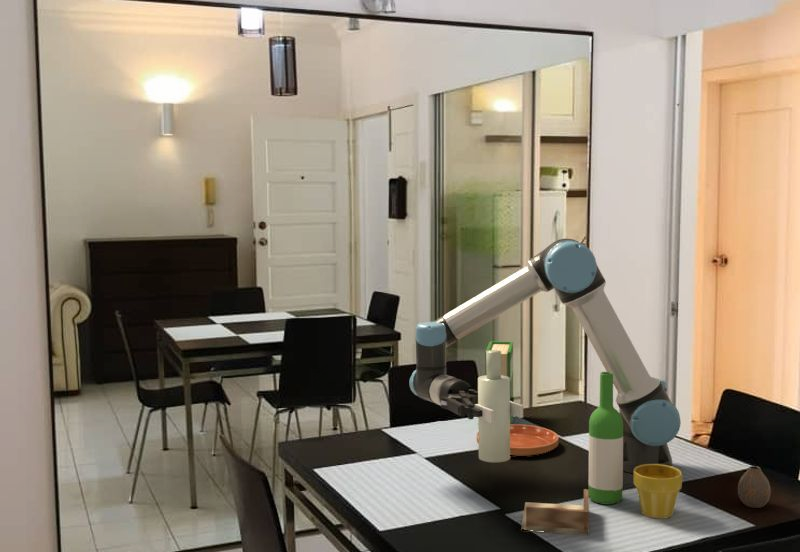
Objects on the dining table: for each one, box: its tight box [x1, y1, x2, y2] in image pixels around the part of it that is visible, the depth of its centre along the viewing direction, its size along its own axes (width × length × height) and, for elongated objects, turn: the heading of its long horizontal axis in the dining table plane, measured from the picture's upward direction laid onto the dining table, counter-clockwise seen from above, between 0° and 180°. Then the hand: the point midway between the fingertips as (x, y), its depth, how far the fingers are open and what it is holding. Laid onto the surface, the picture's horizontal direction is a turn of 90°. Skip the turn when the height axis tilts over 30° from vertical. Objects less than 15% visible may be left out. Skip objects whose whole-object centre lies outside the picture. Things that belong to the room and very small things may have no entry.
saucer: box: [476, 423, 560, 457], centre depth 248 cm, size 23×23×4 cm
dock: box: [521, 488, 590, 536], centre depth 193 cm, size 14×14×5 cm
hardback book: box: [484, 341, 514, 424], centre depth 272 cm, size 18×7×24 cm, turn 170°
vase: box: [737, 465, 772, 509], centre depth 201 cm, size 7×7×9 cm
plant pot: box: [632, 464, 683, 519], centre depth 196 cm, size 10×10×10 cm
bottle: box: [477, 350, 511, 463], centre depth 196 cm, size 7×7×24 cm
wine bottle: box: [588, 371, 624, 505], centre depth 204 cm, size 8×8×30 cm
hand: (507, 414), depth 191 cm, fingers closed on bottle, 7 cm apart
